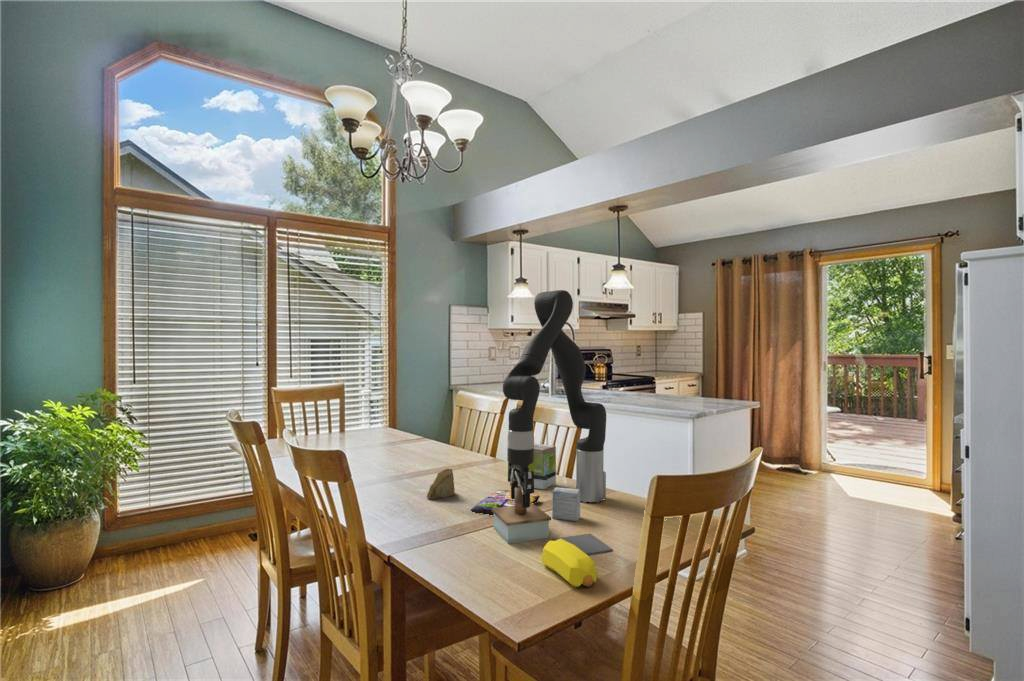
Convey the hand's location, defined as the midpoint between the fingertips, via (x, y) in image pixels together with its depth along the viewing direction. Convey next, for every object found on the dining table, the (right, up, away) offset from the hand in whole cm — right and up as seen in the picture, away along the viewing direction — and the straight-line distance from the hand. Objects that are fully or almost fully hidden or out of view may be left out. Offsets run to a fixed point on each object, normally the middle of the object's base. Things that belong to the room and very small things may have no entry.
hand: (520, 502), depth 152 cm
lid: (0, -4, 0) cm, 4 cm away
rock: (-27, -9, +35) cm, 45 cm away
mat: (+16, -9, -9) cm, 20 cm away
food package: (-5, -9, +23) cm, 26 cm away
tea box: (+6, -9, +50) cm, 51 cm away
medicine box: (+14, -9, +13) cm, 21 cm away
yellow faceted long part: (+11, -9, -26) cm, 29 cm away
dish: (0, -9, 0) cm, 9 cm away
